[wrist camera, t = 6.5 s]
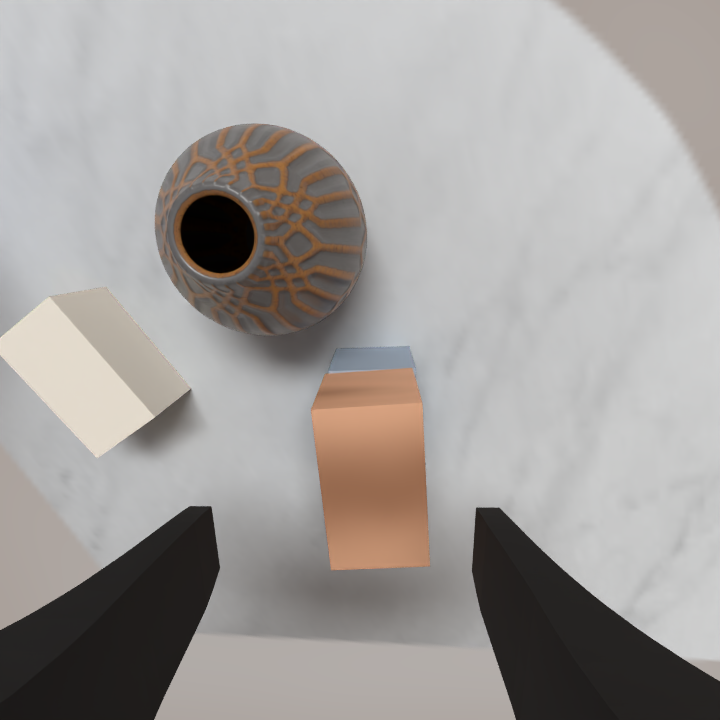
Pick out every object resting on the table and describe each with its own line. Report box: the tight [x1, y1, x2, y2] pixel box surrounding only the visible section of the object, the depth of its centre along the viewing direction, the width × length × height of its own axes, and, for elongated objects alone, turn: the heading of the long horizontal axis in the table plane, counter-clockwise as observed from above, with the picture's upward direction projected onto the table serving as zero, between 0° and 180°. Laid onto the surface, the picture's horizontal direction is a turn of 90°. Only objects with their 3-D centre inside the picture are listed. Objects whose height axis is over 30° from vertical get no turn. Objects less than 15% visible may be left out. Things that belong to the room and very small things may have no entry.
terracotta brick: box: [311, 368, 430, 570], centre depth 15 cm, size 6×3×4 cm, turn 5°
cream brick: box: [0, 287, 191, 458], centre depth 18 cm, size 6×3×4 cm, turn 35°
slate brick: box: [328, 346, 416, 379], centre depth 19 cm, size 6×3×4 cm, turn 3°
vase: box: [155, 124, 367, 335], centre depth 14 cm, size 7×7×9 cm
